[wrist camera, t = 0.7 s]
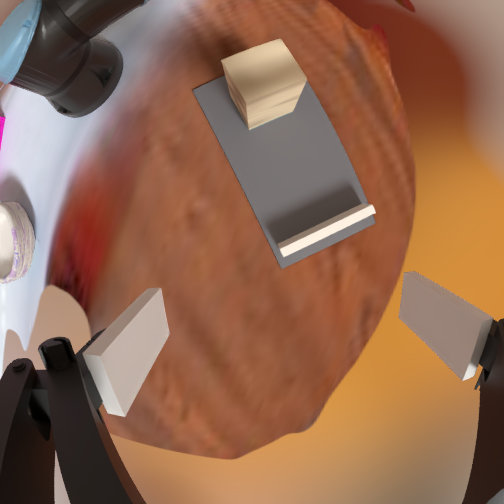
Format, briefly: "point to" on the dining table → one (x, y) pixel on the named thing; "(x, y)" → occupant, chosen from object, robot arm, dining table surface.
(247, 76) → the beech block
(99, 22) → the robot arm
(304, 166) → the gray ramp
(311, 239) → the stop rail
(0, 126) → the toy block
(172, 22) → the dining table surface
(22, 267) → the paper bowls
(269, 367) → the dining table surface
